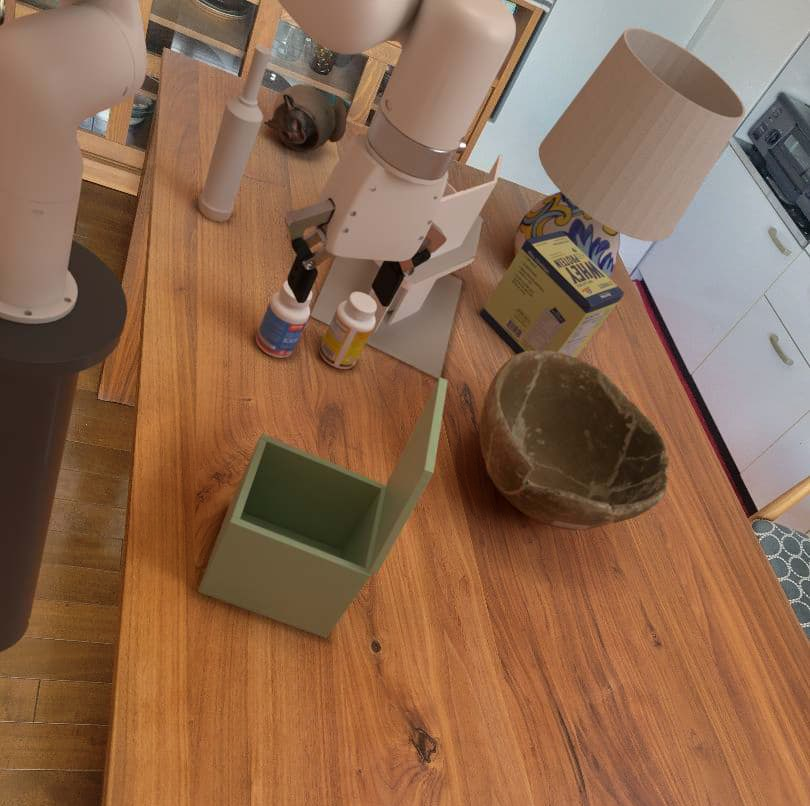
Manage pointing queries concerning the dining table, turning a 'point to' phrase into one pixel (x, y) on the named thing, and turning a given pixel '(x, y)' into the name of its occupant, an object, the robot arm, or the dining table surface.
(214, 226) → the dining table surface
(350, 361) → the supplement bottle
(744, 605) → the dining table surface
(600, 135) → the table lamp
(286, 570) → the box
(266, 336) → the pill bottle
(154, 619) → the dining table surface
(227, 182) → the bottle
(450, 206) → the architectural model
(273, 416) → the dining table surface
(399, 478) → the lid
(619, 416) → the bowl
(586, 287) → the protein box
